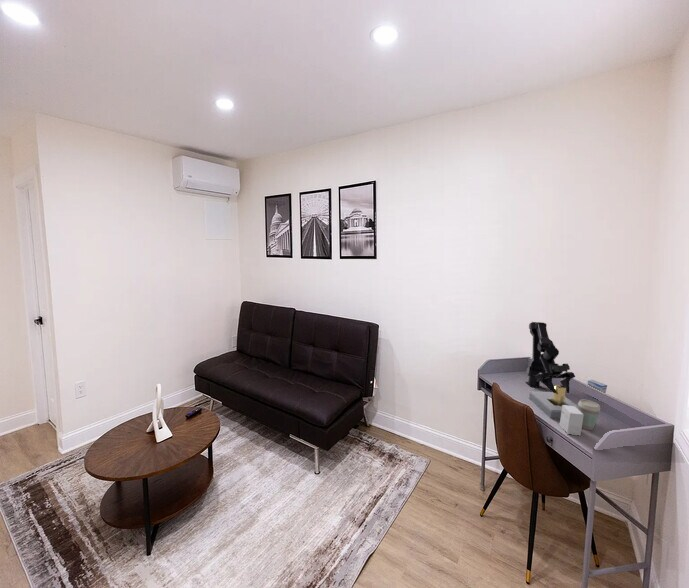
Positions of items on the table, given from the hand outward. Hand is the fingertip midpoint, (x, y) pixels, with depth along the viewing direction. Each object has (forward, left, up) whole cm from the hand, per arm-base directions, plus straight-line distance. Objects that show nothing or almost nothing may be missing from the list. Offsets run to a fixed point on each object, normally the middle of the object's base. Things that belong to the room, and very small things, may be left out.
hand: (561, 392), depth 165 cm
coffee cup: (+13, +5, -11) cm, 17 cm away
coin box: (-3, 0, -11) cm, 11 cm away
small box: (+17, -5, -11) cm, 21 cm away
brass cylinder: (-1, 0, -10) cm, 11 cm away
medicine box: (-19, +32, -11) cm, 39 cm away
